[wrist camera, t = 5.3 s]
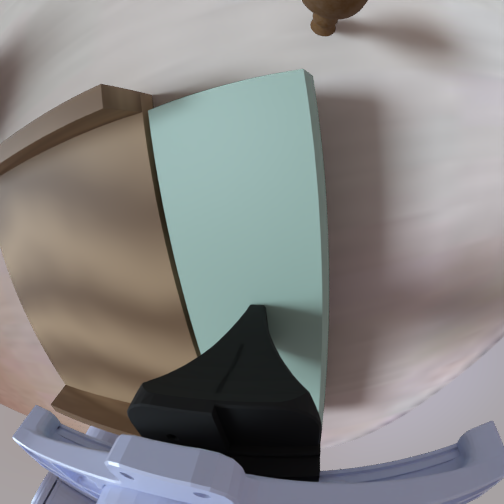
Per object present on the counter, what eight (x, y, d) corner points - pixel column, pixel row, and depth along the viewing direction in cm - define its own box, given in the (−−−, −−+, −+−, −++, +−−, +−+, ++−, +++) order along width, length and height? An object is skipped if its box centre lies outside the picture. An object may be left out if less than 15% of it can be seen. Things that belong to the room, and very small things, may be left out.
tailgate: (230, 405, 19) (321, 430, 16) (222, 416, 18) (315, 444, 15) (166, 110, 12) (312, 76, 8) (147, 110, 11) (303, 69, 7)
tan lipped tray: (224, 411, 19) (212, 455, 15) (76, 384, 22) (56, 411, 18) (151, 95, 11) (100, 84, 8) (-6, 170, 14) (-44, 182, 10)
